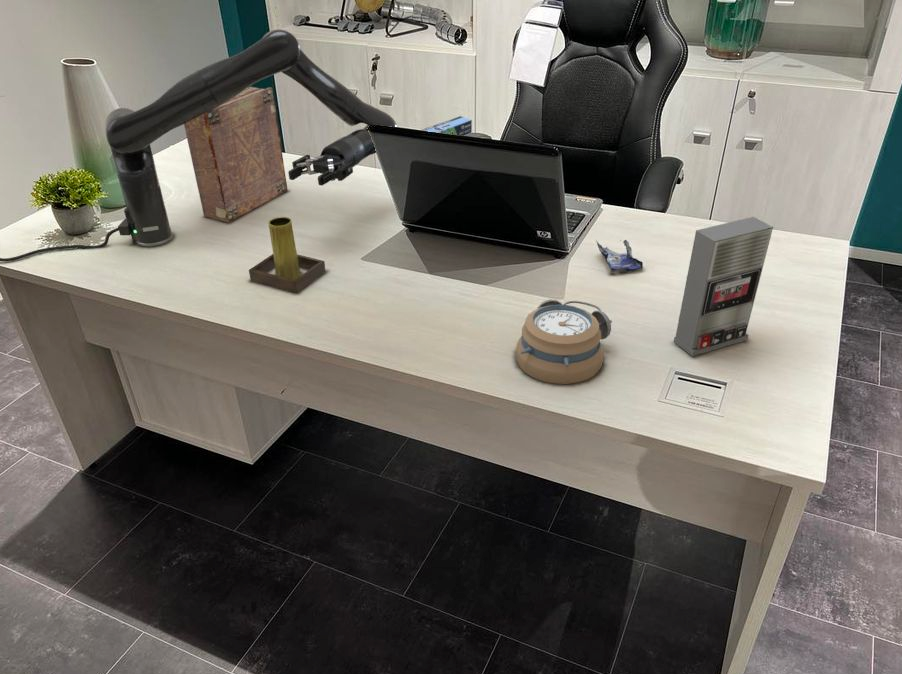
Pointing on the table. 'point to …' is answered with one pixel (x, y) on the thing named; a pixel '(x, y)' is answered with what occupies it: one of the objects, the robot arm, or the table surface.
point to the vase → (284, 248)
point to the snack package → (621, 259)
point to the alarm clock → (562, 342)
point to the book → (237, 155)
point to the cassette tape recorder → (722, 284)
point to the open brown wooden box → (295, 286)
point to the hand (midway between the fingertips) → (304, 178)
